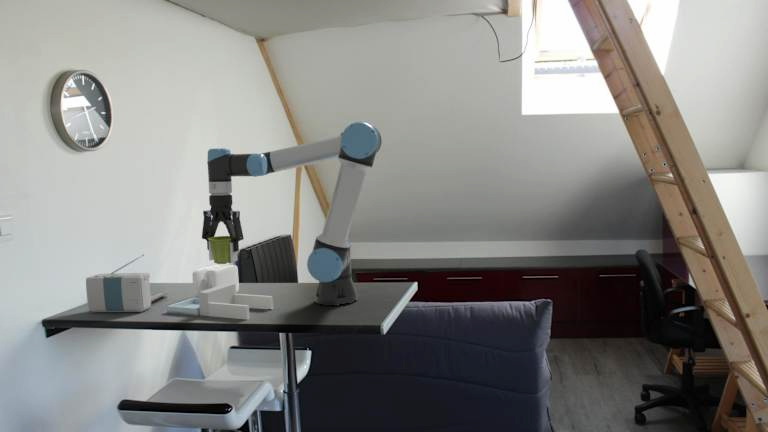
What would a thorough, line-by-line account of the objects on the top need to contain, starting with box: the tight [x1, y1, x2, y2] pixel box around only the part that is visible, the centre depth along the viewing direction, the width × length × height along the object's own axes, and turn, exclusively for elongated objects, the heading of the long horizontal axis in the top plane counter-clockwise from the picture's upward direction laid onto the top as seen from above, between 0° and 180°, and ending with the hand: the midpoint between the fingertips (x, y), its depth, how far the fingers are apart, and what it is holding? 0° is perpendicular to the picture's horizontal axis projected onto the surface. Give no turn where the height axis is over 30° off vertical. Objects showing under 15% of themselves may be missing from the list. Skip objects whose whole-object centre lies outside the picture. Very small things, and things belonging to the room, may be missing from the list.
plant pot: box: [208, 235, 233, 265], centre depth 200 cm, size 9×9×9 cm
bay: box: [198, 284, 274, 321], centre depth 202 cm, size 20×14×8 cm
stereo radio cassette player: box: [85, 254, 152, 314], centre depth 210 cm, size 21×8×20 cm, turn 82°
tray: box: [166, 297, 201, 317], centre depth 208 cm, size 13×13×2 cm
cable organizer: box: [191, 264, 240, 298], centre depth 227 cm, size 15×11×12 cm
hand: (223, 260), depth 201 cm, fingers closed on plant pot, 8 cm apart
